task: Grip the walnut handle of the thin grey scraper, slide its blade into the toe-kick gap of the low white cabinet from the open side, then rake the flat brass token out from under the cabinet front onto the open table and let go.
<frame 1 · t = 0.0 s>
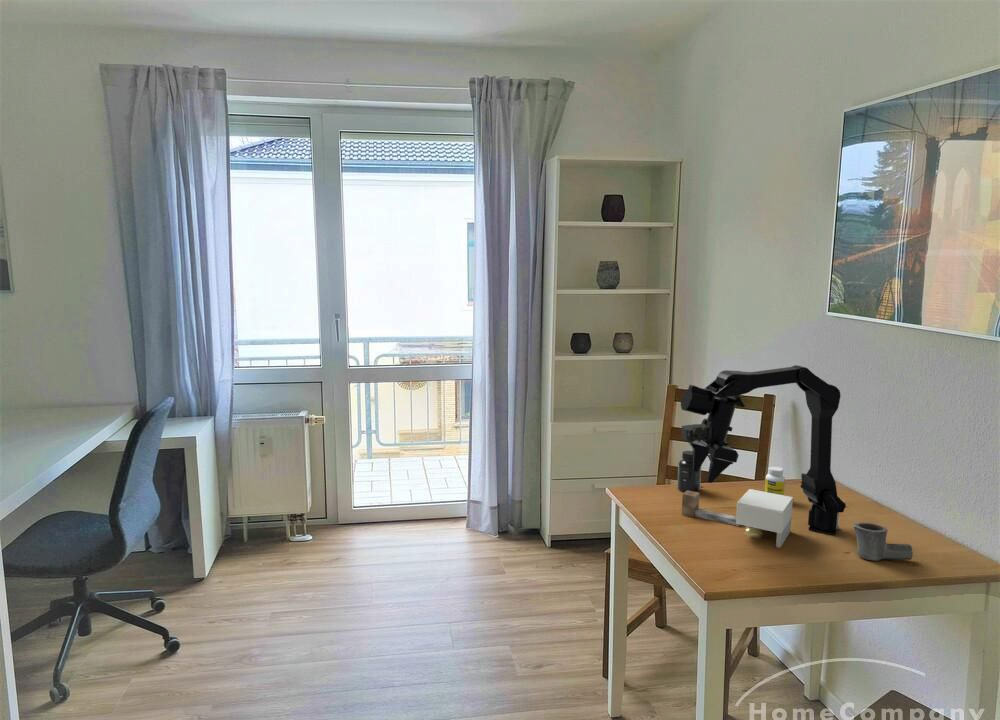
hand: (701, 476, 171), 15 cm above the table, tool pointing down, fingers open, 9 cm apart
blade tool: (690, 513, 187), on the table
token: (753, 535, 172), on the table
supplement bottle: (688, 490, 207), on the table
supplement bottle 2: (773, 500, 198), on the table
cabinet: (763, 534, 172), on the table
pipe: (879, 559, 159), on the table
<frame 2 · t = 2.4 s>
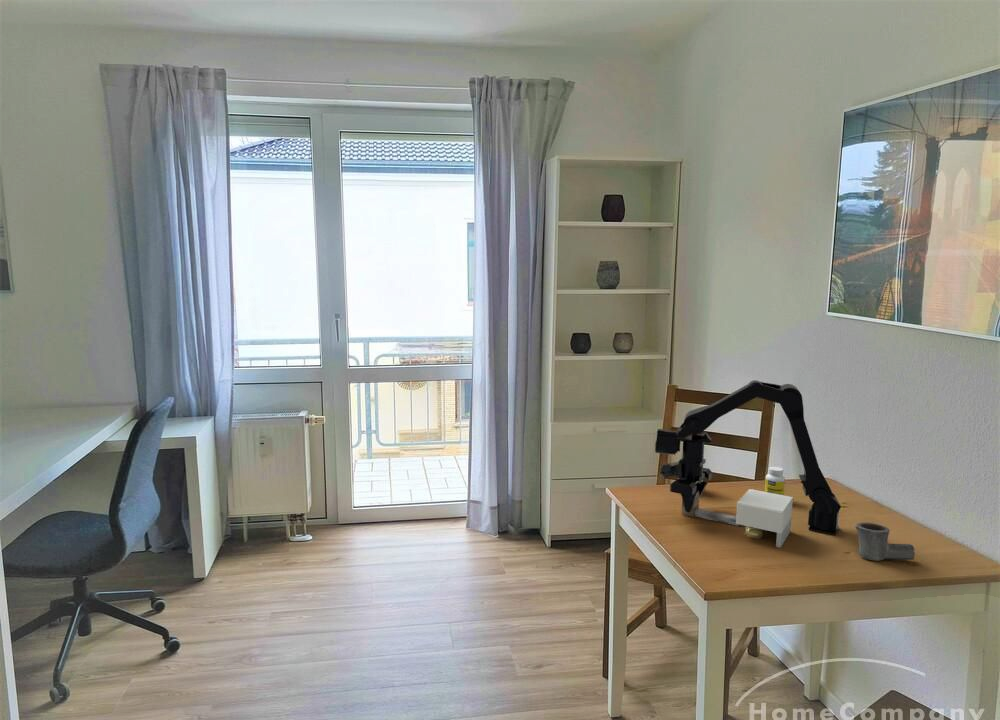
hand: (690, 509, 186), 1 cm above the table, tool pointing down, fingers closed on blade tool, 4 cm apart
blade tool: (689, 513, 187), on the table, touching gripper
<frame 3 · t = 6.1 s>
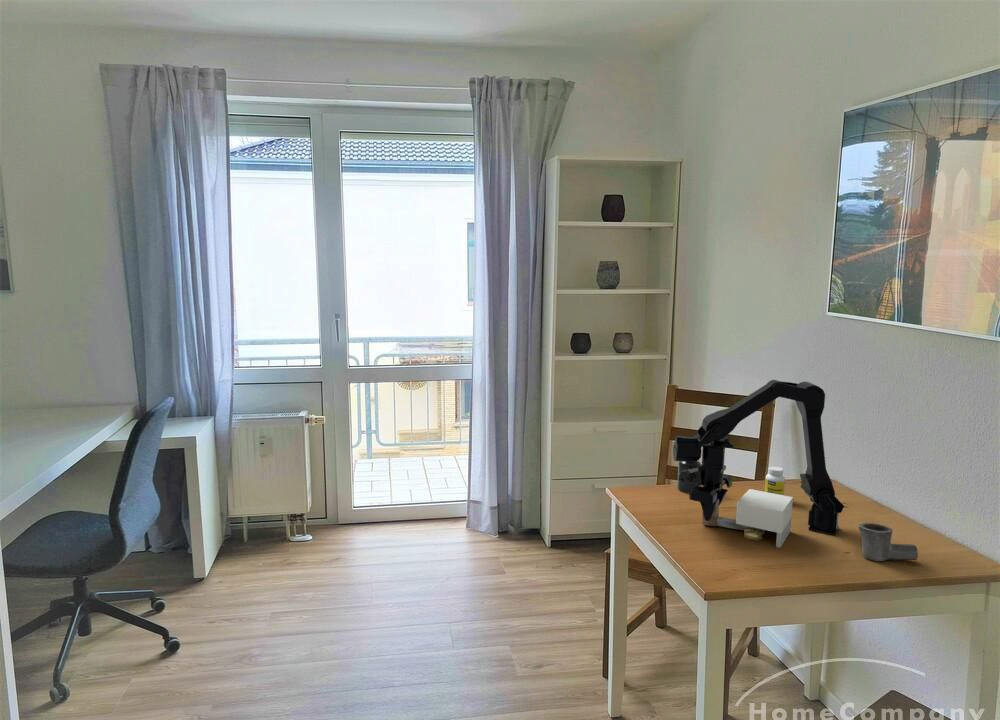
hand: (709, 517, 179), 2 cm above the table, tool pointing down, fingers closed on blade tool, 4 cm apart
blade tool: (710, 522, 179), point 1 cm above the table, touching gripper, token
token: (752, 537, 171), on the table, touching blade tool
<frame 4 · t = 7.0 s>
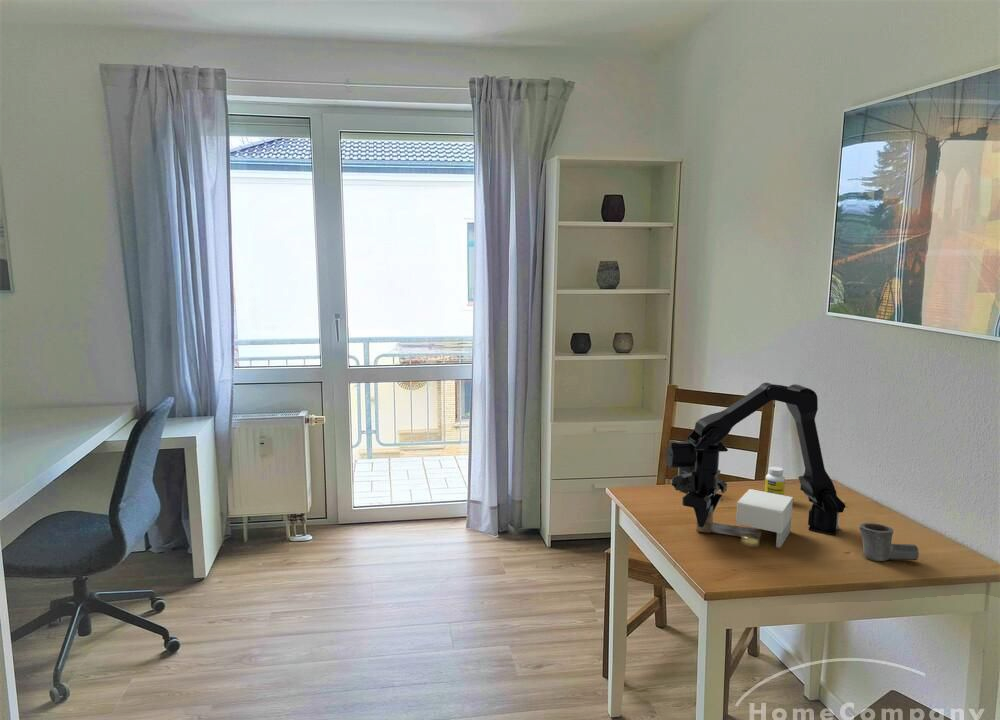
hand: (703, 524, 174), 2 cm above the table, tool pointing down, fingers closed on blade tool, 4 cm apart
blade tool: (704, 528, 174), point 1 cm above the table, touching gripper
token: (749, 543, 167), on the table
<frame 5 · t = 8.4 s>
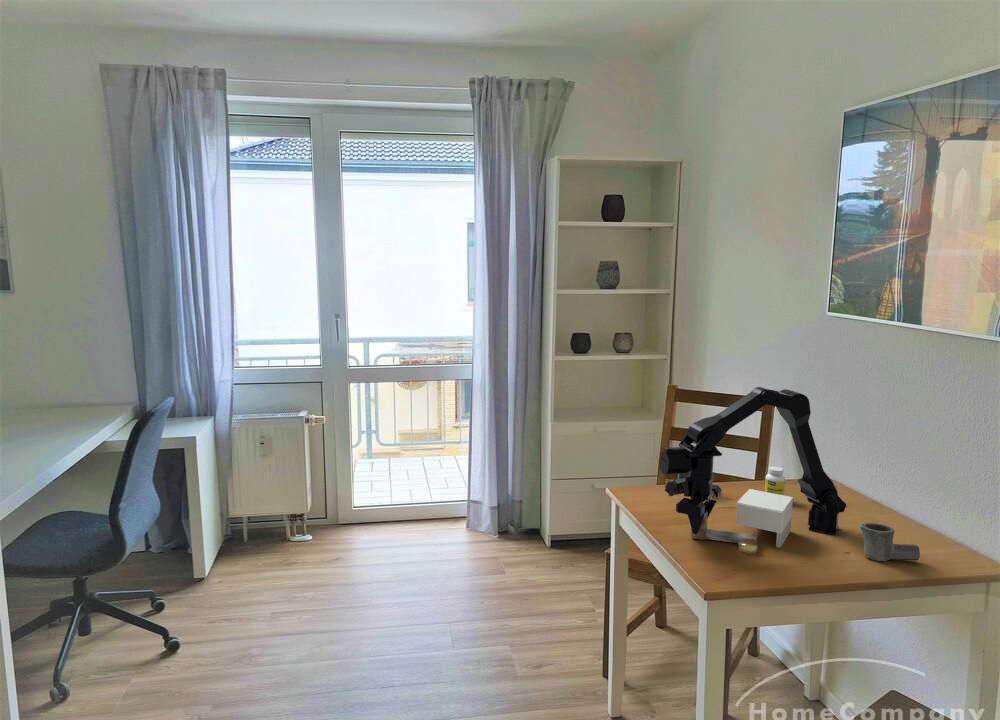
hand: (697, 530, 170), 2 cm above the table, tool pointing down, fingers closed on blade tool, 4 cm apart
blade tool: (699, 535, 170), on the table, touching gripper
token: (747, 550, 163), on the table
when the fingers open (2 cm above the table, at t = 9.6 s): blade tool stays where it is, on the table.
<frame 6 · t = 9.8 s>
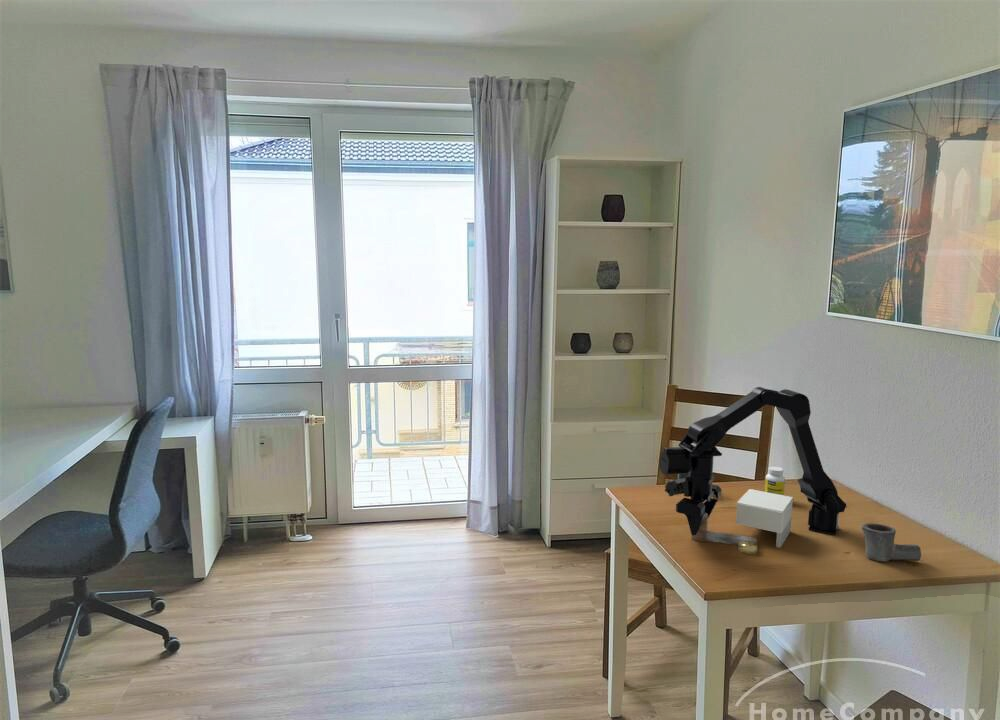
hand: (697, 530, 170), 2 cm above the table, tool pointing down, fingers open, 6 cm apart
blade tool: (699, 537, 170), on the table
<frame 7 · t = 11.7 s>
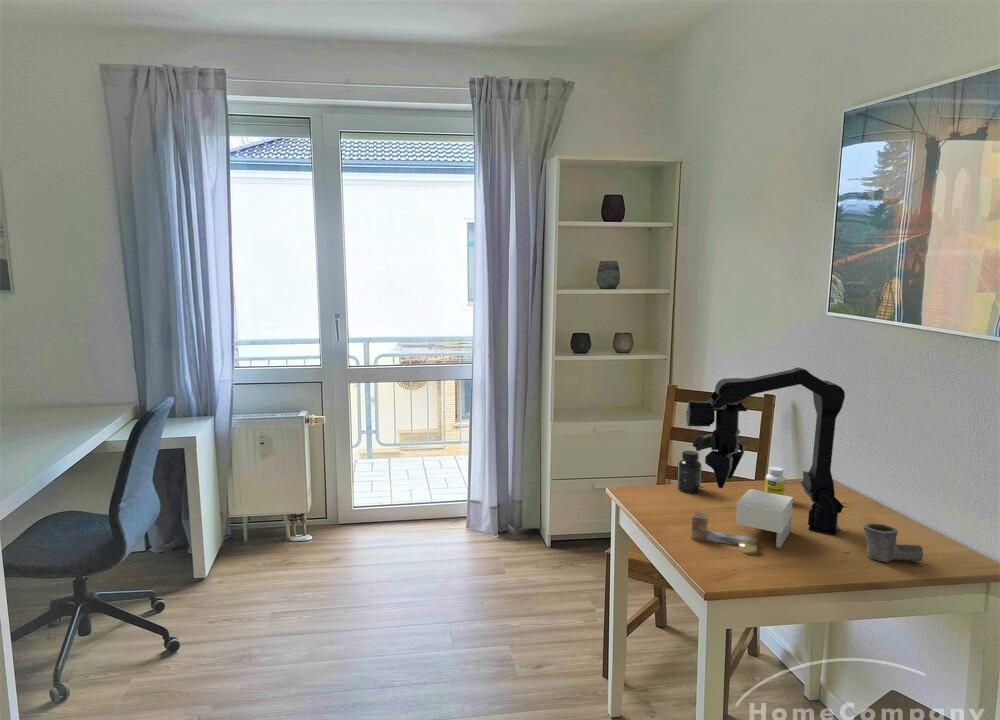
hand: (725, 482, 178), 11 cm above the table, tool pointing down, fingers open, 9 cm apart
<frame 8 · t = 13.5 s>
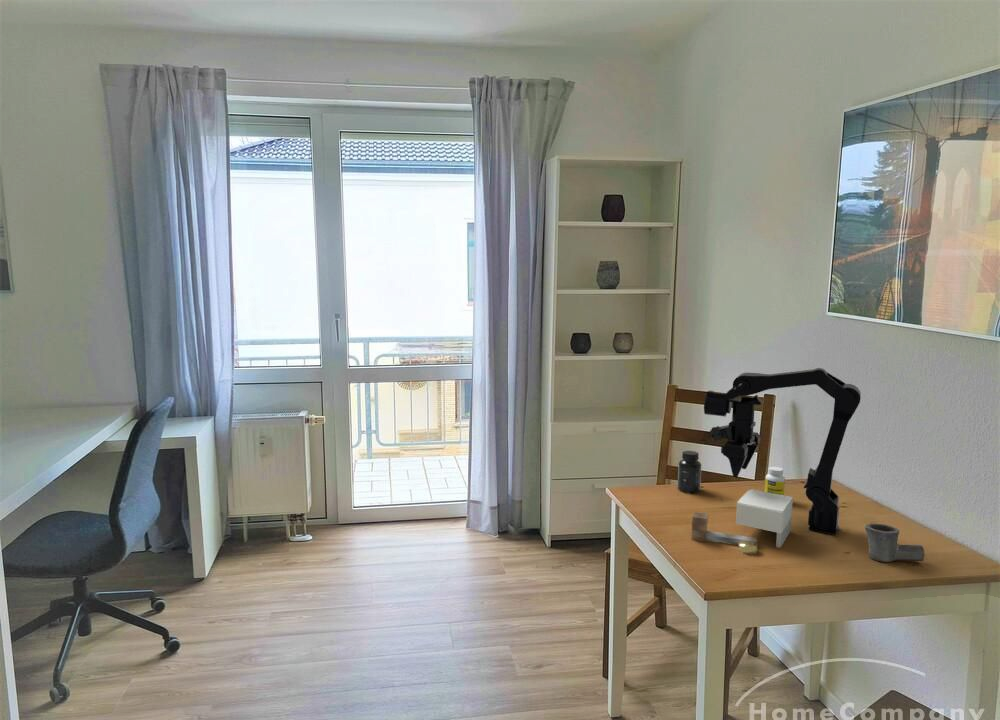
hand: (739, 472, 185), 12 cm above the table, tool pointing down, fingers open, 9 cm apart
at the end: token inside the target area (4.1 cm from its centre), on the table; the gripper is holding nothing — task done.
